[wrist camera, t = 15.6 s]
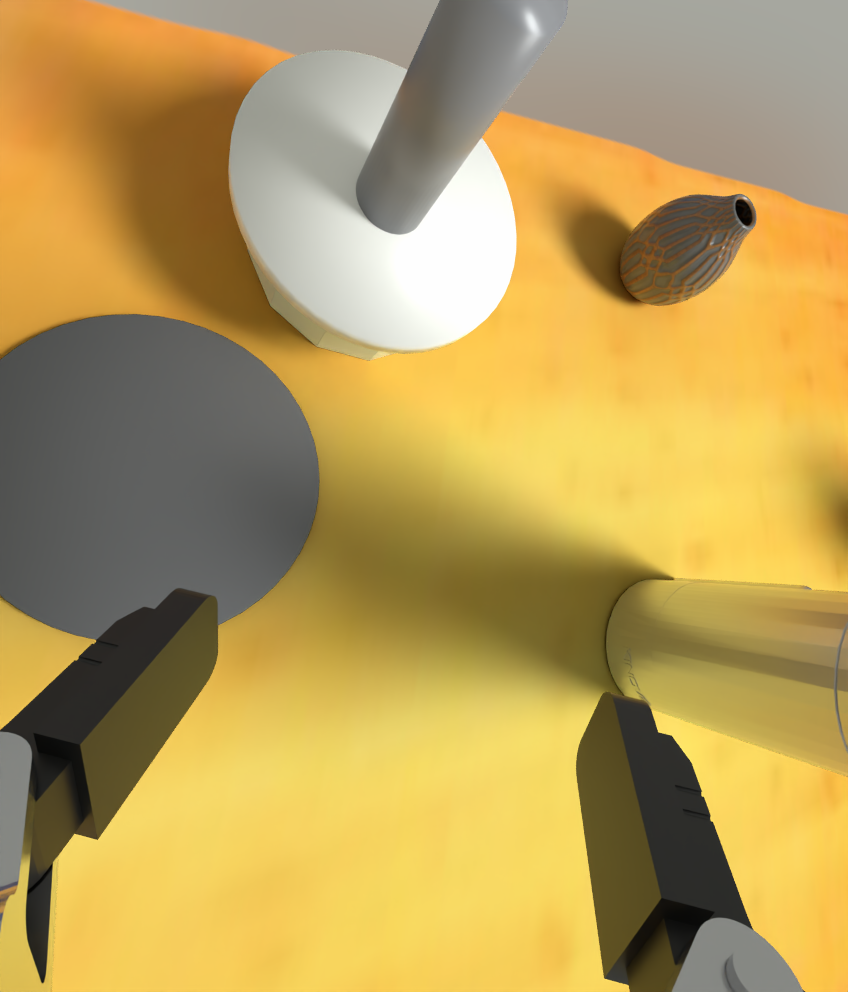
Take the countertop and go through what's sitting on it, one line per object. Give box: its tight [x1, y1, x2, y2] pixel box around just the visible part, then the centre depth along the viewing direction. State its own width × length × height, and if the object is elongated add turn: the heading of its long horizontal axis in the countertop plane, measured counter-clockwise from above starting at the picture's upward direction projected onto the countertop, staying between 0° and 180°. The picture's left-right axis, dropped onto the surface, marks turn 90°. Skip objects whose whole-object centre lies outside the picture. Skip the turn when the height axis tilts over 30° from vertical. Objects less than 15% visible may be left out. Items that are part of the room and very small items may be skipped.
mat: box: [0, 314, 319, 640], centre depth 25 cm, size 16×16×1 cm
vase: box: [620, 194, 756, 306], centre depth 37 cm, size 7×7×9 cm
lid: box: [228, 0, 568, 354], centre depth 21 cm, size 15×15×12 cm
